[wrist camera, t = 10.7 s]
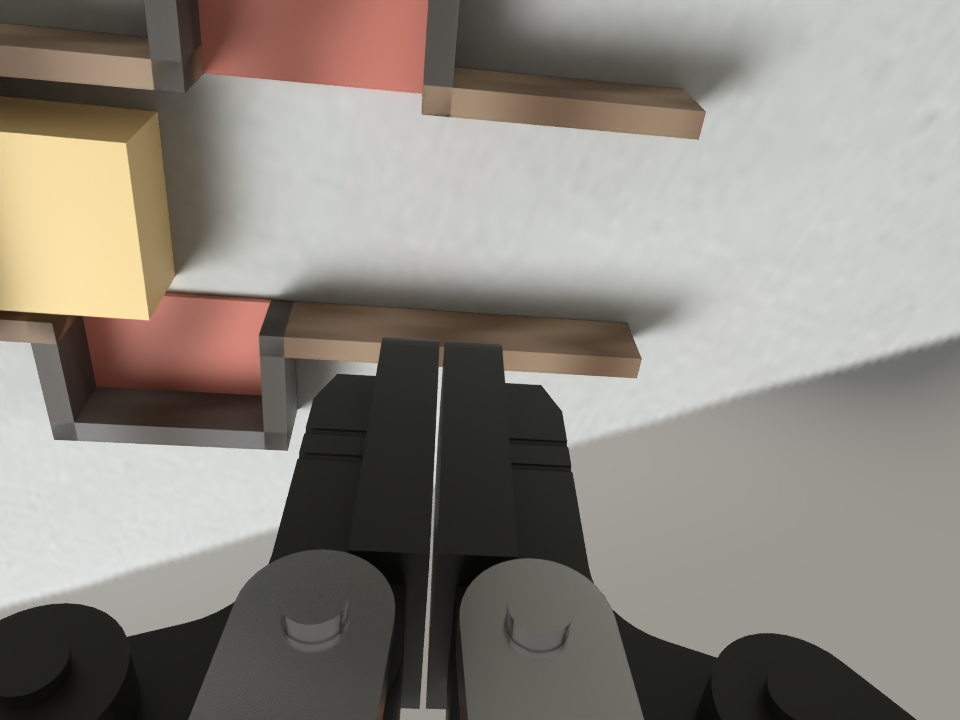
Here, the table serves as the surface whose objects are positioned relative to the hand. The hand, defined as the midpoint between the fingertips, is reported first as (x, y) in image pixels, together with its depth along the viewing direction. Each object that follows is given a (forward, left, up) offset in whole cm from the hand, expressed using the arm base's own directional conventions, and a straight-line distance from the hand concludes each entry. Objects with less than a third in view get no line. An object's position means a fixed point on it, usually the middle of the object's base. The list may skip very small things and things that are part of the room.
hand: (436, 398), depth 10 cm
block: (+14, +7, -23) cm, 27 cm away
